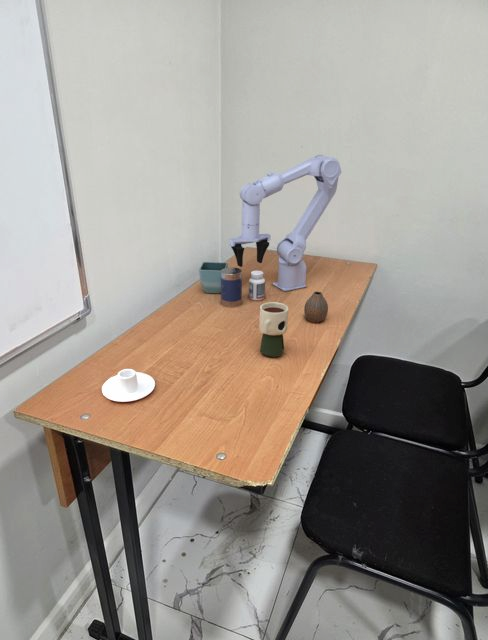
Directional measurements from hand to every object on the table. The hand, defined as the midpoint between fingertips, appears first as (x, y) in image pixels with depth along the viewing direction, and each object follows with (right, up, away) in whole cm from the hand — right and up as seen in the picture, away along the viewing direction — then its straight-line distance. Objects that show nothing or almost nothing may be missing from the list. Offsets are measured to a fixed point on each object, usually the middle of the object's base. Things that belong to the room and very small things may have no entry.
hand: (249, 264), depth 150 cm
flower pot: (-12, -9, +4) cm, 16 cm away
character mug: (+4, -30, -33) cm, 45 cm away
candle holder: (-30, -38, -48) cm, 68 cm away
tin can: (-6, -14, -5) cm, 16 cm away
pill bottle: (+2, -12, -1) cm, 12 cm away
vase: (+19, -20, -16) cm, 32 cm away
